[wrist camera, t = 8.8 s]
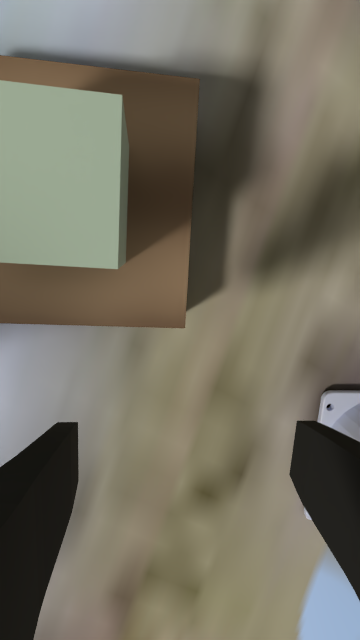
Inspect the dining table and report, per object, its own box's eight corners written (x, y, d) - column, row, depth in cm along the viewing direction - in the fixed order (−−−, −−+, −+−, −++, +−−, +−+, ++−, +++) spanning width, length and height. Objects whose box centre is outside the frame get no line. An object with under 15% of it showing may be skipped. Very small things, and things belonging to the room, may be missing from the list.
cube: (125, 262, 15) (117, 269, 11) (13, 255, 15) (-51, 259, 10) (129, 146, 14) (122, 95, 10) (8, 134, 14) (-65, 72, 9)
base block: (178, 316, 19) (184, 328, 16) (-22, 309, 18) (-53, 321, 15) (189, 107, 17) (199, 79, 14) (-38, 83, 16) (-79, 45, 13)
